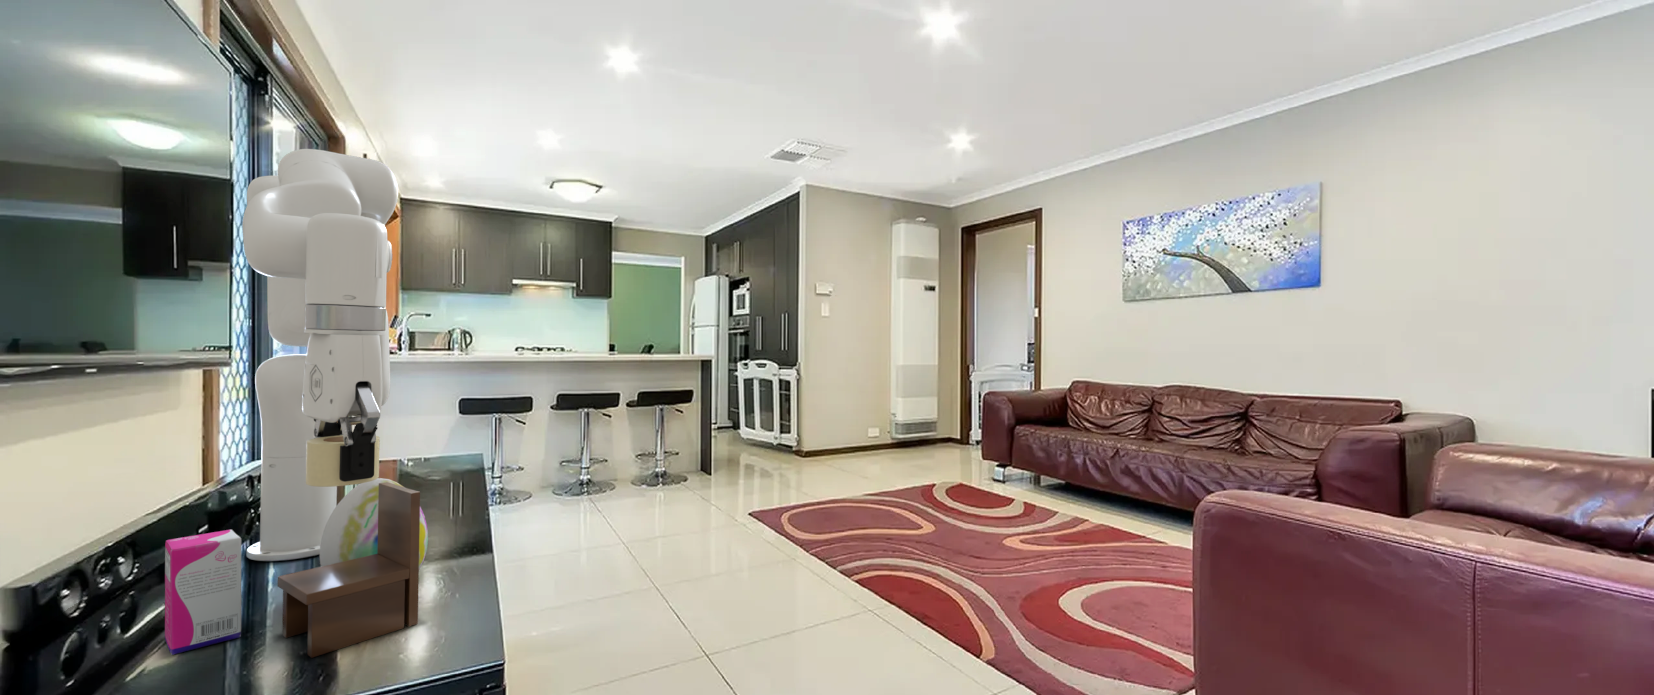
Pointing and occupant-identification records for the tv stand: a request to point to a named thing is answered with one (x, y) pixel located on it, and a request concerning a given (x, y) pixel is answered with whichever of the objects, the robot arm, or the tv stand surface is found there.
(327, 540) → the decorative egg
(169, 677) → the tv stand surface
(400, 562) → the wooden toy chair
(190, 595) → the supplement box
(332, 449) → the tape roll
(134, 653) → the tv stand surface
